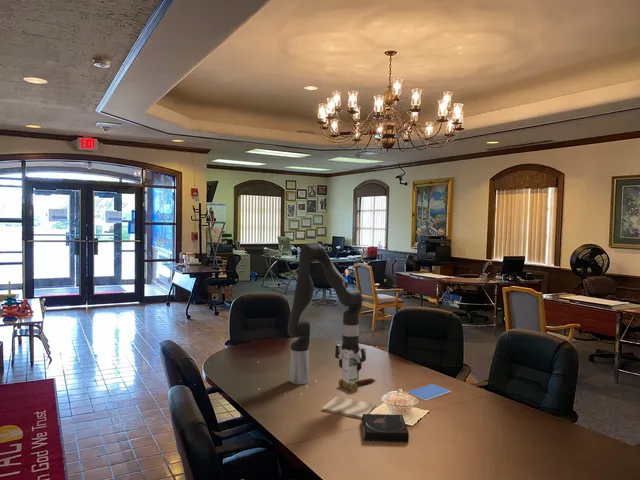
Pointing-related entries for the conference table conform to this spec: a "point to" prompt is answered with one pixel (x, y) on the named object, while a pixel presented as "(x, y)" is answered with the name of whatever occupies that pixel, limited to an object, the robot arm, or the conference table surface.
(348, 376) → the syrup box
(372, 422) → the portable cd player
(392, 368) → the conference table surface
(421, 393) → the tablet computer
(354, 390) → the gavel
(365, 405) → the folded beige cloth
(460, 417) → the conference table surface
